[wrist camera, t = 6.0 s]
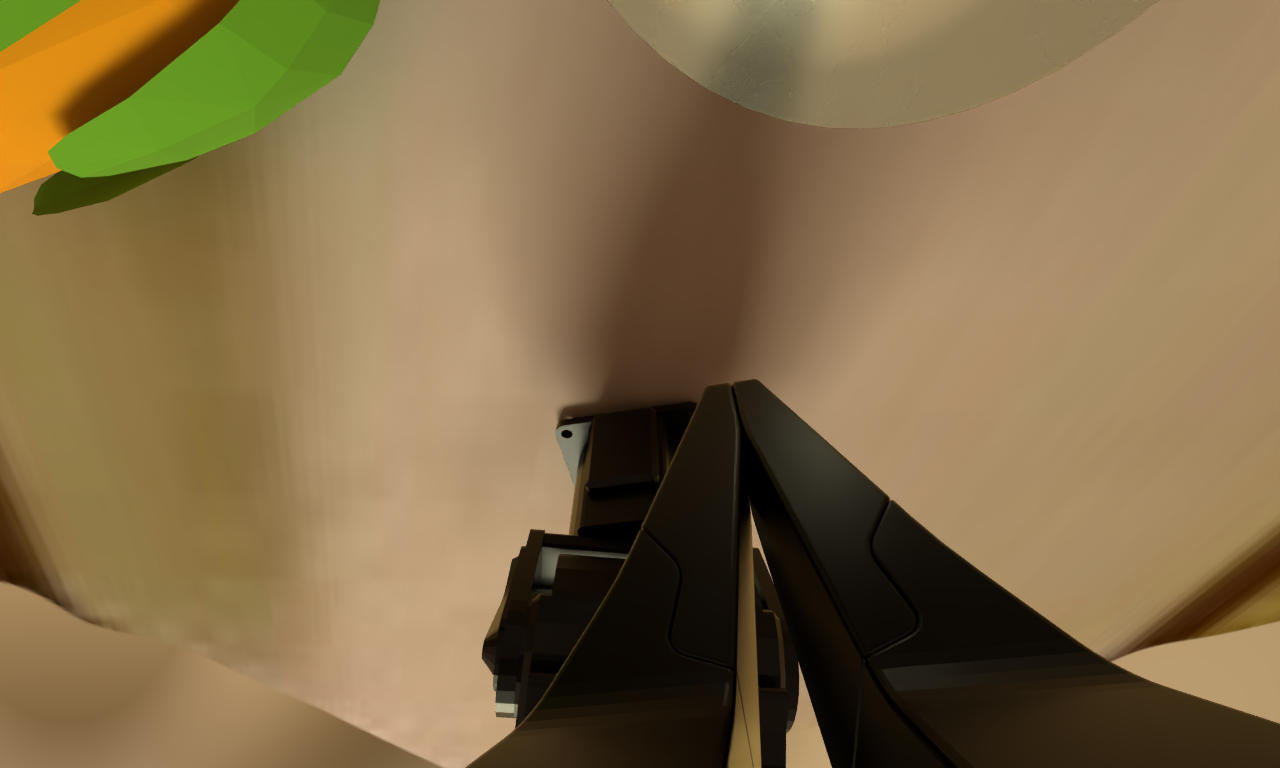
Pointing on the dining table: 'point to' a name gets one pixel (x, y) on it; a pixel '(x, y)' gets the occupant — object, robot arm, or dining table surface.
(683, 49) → the lid
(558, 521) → the dining table surface
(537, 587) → the robot arm
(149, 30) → the corn
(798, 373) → the dining table surface
